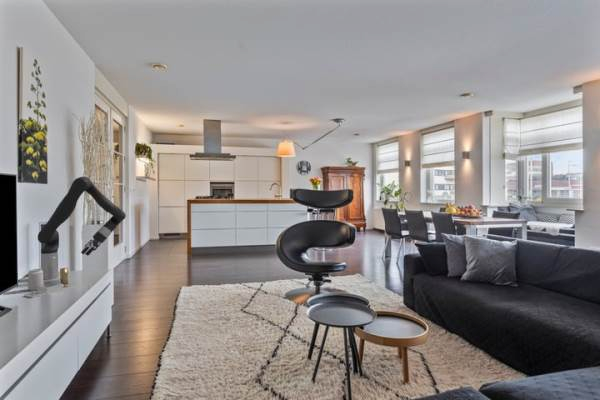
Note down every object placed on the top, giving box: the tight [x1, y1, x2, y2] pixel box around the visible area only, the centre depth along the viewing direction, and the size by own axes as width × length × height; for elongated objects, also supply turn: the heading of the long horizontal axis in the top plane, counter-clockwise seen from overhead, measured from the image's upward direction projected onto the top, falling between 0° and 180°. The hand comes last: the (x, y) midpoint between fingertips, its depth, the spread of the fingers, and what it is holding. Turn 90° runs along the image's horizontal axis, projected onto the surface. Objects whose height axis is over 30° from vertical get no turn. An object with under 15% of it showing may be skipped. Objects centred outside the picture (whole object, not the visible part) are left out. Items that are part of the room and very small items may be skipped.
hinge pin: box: [59, 267, 69, 285], centre depth 224 cm, size 4×4×10 cm
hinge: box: [24, 281, 76, 299], centre depth 208 cm, size 9×23×4 cm, turn 154°
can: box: [27, 268, 45, 292], centre depth 213 cm, size 8×8×12 cm
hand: (84, 254), depth 232 cm, fingers open, 8 cm apart
